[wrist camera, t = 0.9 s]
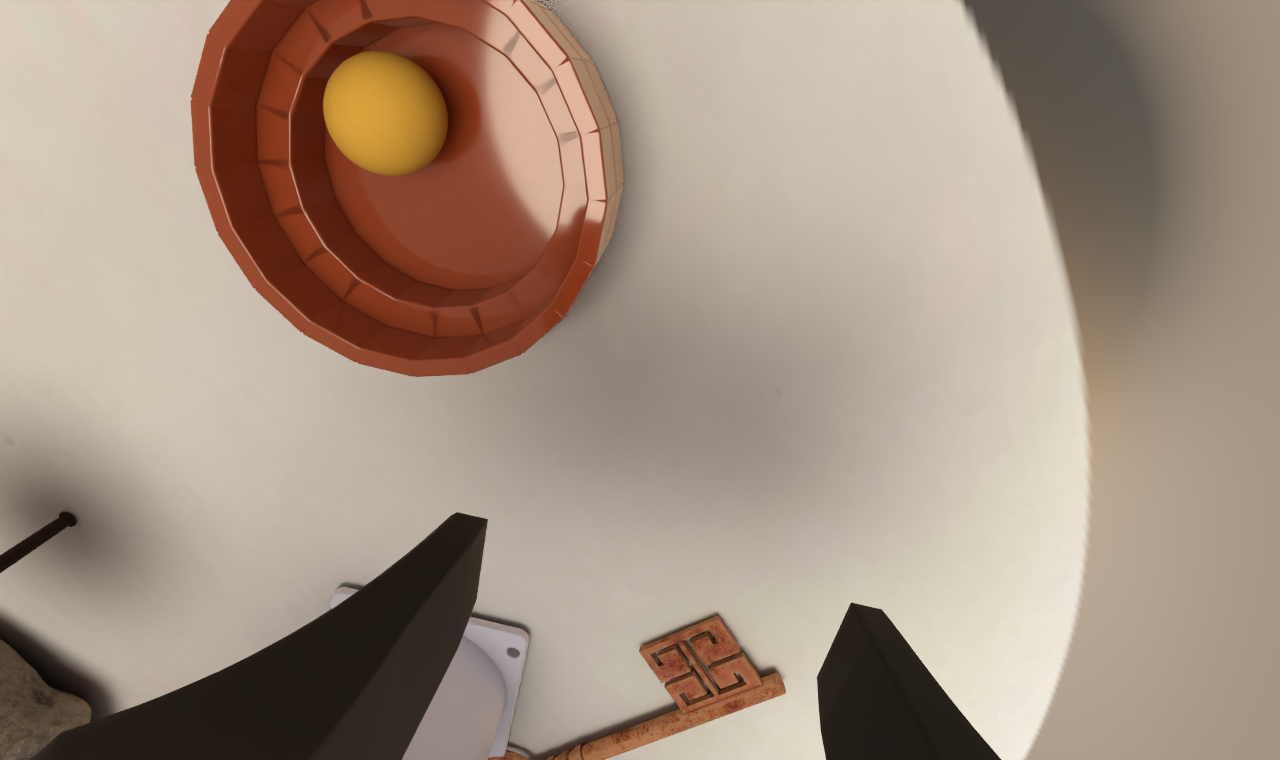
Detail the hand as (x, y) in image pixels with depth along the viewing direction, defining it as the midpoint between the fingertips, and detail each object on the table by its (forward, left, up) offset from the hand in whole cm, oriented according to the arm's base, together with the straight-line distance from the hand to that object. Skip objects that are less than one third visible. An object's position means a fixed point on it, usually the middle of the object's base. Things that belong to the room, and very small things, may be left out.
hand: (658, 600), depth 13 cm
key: (-16, -1, -10) cm, 19 cm away
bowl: (+5, +8, -10) cm, 14 cm away
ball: (+7, +9, -8) cm, 14 cm away
